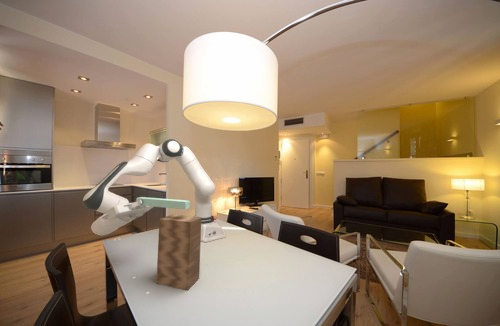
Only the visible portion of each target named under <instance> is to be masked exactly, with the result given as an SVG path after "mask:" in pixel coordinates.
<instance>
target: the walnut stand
mask: <svg viewBox="0 0 500 326" xmlns="http://www.w3.org/2000/svg"><path fill="white" fill-rule="evenodd" d="M158 221H159V222H158V223H159V225H158V242H157V243H158V245H157V261H156V262H157V263H156V265H157V267H156V280H155V281H156V282H155V283H156V284H157V285H160V286H167V287H171V288H175V289H180V290H184V291H189V290H190V289H191V288H192V287H193V285H195V284H196V283H197V282H198V281H199V279H200V270H201V268H200V267H201V262H200V261H201V243H202V241H201V217H194V216H191V215H180V214H170V215H168V216H164V217H162V218H159V219H158Z"/></svg>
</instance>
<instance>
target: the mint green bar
mask: <svg viewBox="0 0 500 326" xmlns="http://www.w3.org/2000/svg"><path fill="white" fill-rule="evenodd" d="M138 200H143V201H144V203H143V204H141V205H142V206H153V208H154V207H155V208H163V209H164V208H165V209H166V208H167V209H178V210H188V209H190V207H191V206H190V204H191V201H190V200H184V199H171V198H161V197H160V198H159V197H158V198H157V197H149V196H148V197H147V196H146V197H145V196H140V197H136V199H135V202H137V201H138Z"/></svg>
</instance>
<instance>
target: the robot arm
mask: <svg viewBox="0 0 500 326" xmlns="http://www.w3.org/2000/svg"><path fill="white" fill-rule="evenodd" d="M173 159H174V160H175V161H177V163H178V164H179V166H180V167H181V168H182V171H184V173H185V175H186V176H187V178H188V180H190V182H191V184H192V185H193V186H194V216H193V217H201V242H204V243H208V242H213V241H216V240H219V239H225V238H226V237H227V236H226V233H225V232H223V228H222V226H221V224H219V223H217V221H216V220H217V218H218V217H216V216H214V215H213V214H212V213H213V203H212V195H213V194H214V193H215V190H216V185H215V183H214V182H213V181H212V179H211V177H210V175H208V173H207V172H206V171H205V169H204V168H203V166H202V165H201V163H200V161H199V160H198V158H197V157H196V155H195V153H194V152H193V151H192V150H191V149H190V148H189V147H188V146H185V145H184V146H183V144H181V143H180V142H179V141H178V140H176V139H172V138H169V139H167V140H165V141H164V142H161V144H159V145H155V144H152V143H148V142H147V143H144V144H143V145H142V146H140V147H139V149H138V150H137V151H136V152H135V153H134V155H133V157H132V158H131V159H129V160H128V161H125V160H123V161H122V162H120V163H119V164H117V165H116V166H115V167H114V168H113V169H112V170H111V171H110V172H108V174H107V175H106V176H104V178H103V179H101V180H100V181H99V182H98V183H97V184H96V185H95V186H93V187H92V188H91V189H90V190H89V191H87V192H86V194H85V195H84V196H83V198H82V204H83V206H84V208H85V209H87V210H90V211H94V212H98V213H101V214H103V215H101V216H99V217H98V218H97V219H95V220H94V221H93V223H92V224H91V225H90V229H91V231H92V233H94V234H95V235H98V236H107V235H109V234H111V233H113V232H115V231H117V230H118V229H120V228H121V227H123V226H126V225H127V224H129V223H130V222H133V221H134V220H136V219H138V218H140V217H142V216H144V214H145V213H147V212H149V211H151V210H152V209H153V208H154V207H153V206H142V205H141V204H143V203H144V201H143V200H138V201H137V202H136V201H134V202H130V200H129V199H127V198H126V197H123V196H121V195H118V194H115V193H114V192H111V191H109V189H110V187H111V186H112V185H113V184H114V183H115V182H116V181H118V179H119V178H121V177H122V176H124V175H126V176H127V175H128V176H132V177H143V176H145V175H148V174H149V173H150V172H151V171H152V169H153V167H154V166H155V165H156V162H160V163H168V162H170V161H172V160H173Z"/></svg>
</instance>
